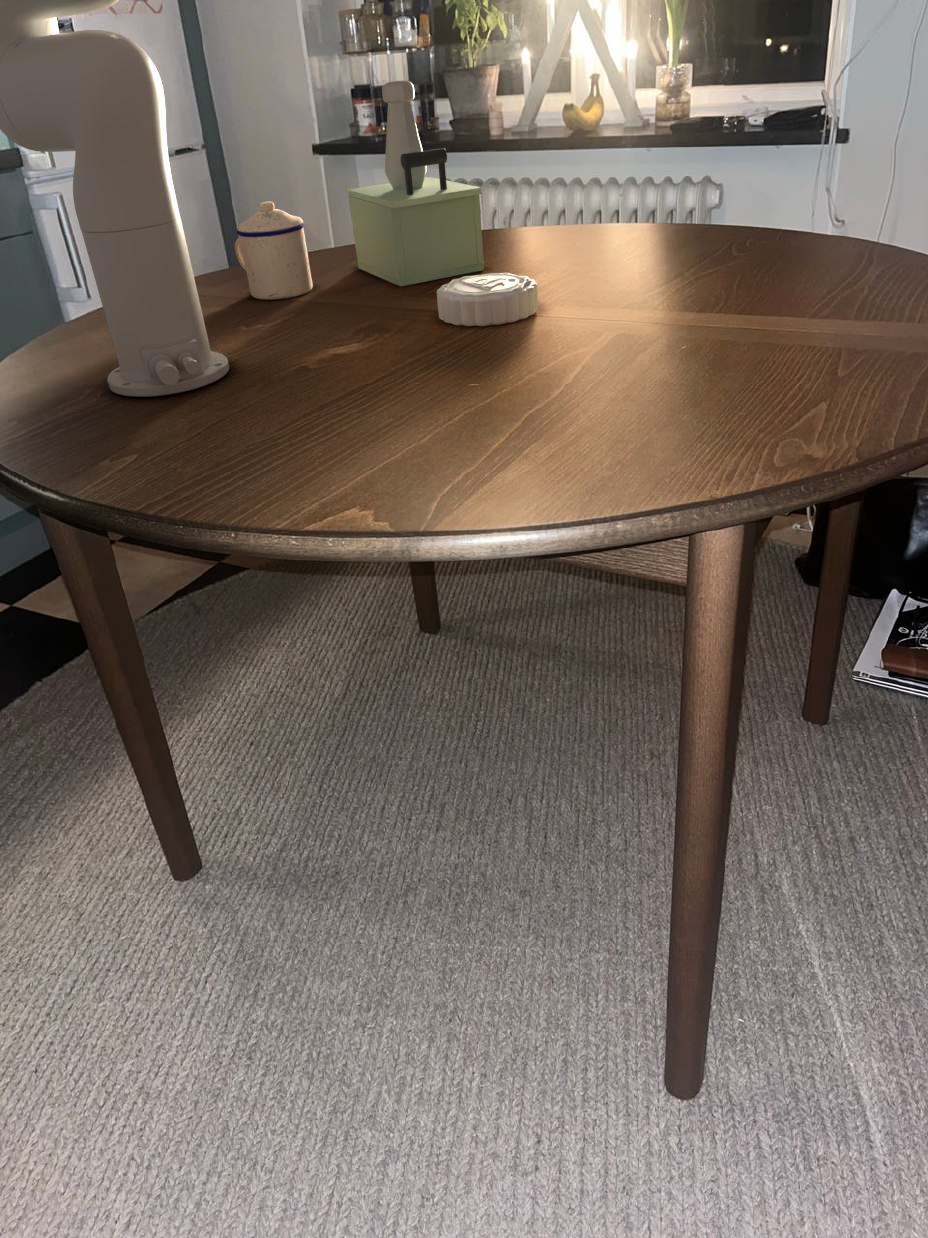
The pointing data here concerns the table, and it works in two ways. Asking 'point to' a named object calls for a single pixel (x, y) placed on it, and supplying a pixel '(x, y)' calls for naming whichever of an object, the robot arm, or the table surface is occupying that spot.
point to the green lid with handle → (425, 194)
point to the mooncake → (487, 299)
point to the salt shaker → (401, 134)
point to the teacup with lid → (274, 254)
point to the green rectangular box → (418, 239)
